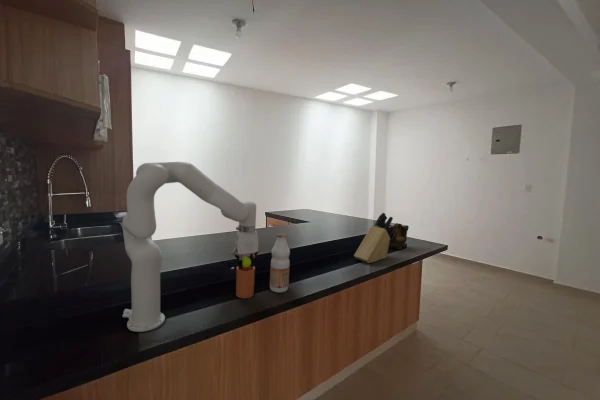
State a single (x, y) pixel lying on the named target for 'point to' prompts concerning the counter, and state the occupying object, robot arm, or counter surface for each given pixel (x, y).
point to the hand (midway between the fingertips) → (245, 266)
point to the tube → (245, 282)
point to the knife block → (376, 241)
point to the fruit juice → (280, 265)
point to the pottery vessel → (398, 236)
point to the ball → (246, 262)
